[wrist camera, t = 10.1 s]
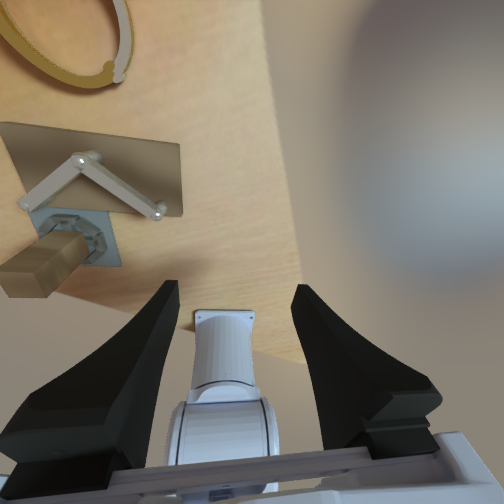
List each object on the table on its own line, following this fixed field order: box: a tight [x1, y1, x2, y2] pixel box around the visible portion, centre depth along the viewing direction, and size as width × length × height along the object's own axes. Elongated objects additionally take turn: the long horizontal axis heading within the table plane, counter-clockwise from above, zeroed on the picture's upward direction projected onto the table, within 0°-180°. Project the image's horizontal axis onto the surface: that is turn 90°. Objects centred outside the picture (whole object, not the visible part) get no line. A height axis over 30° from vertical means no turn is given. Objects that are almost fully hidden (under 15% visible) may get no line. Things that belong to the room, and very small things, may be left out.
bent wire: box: [17, 149, 169, 221], centre depth 16 cm, size 5×10×4 cm, turn 83°
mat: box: [28, 206, 121, 267], centre depth 20 cm, size 6×6×1 cm
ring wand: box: [0, 213, 108, 298], centre depth 18 cm, size 5×5×7 cm
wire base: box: [0, 122, 183, 217], centre depth 17 cm, size 6×12×1 cm, turn 83°
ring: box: [0, 0, 134, 88], centre depth 12 cm, size 7×3×8 cm
